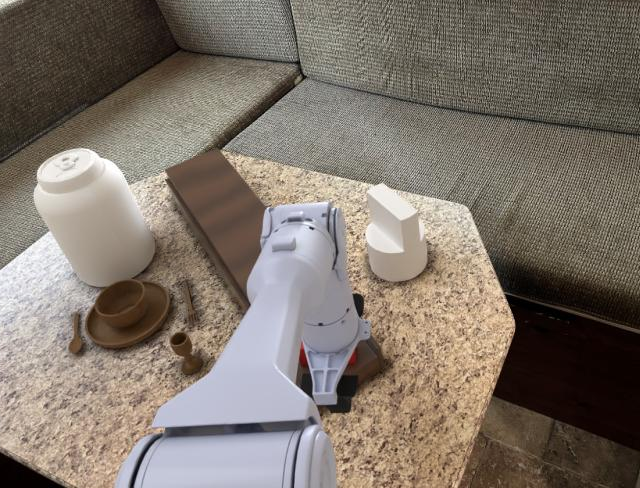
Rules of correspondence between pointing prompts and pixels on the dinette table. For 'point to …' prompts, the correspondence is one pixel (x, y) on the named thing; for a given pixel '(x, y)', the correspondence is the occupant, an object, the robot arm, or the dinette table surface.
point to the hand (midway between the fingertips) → (343, 377)
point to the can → (93, 217)
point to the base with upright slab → (394, 236)
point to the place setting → (134, 319)
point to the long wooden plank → (238, 235)
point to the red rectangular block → (305, 363)
